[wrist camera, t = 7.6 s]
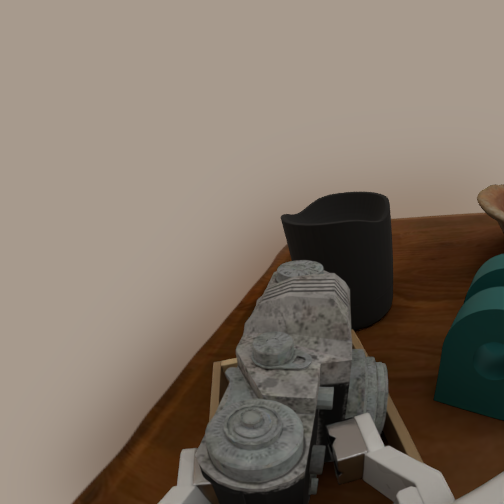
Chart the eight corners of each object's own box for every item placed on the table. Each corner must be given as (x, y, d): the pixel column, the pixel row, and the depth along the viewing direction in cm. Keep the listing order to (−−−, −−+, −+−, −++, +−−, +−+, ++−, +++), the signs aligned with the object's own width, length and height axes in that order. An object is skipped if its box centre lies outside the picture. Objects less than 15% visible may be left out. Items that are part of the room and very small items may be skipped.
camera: (366, 561, 8) (447, 445, 5) (218, 547, 10) (147, 423, 7) (369, 370, 21) (380, 239, 18) (280, 367, 23) (271, 240, 20)
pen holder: (410, 320, 25) (406, 208, 21) (306, 345, 26) (283, 234, 23) (380, 275, 34) (369, 186, 30) (298, 293, 35) (279, 205, 31)
